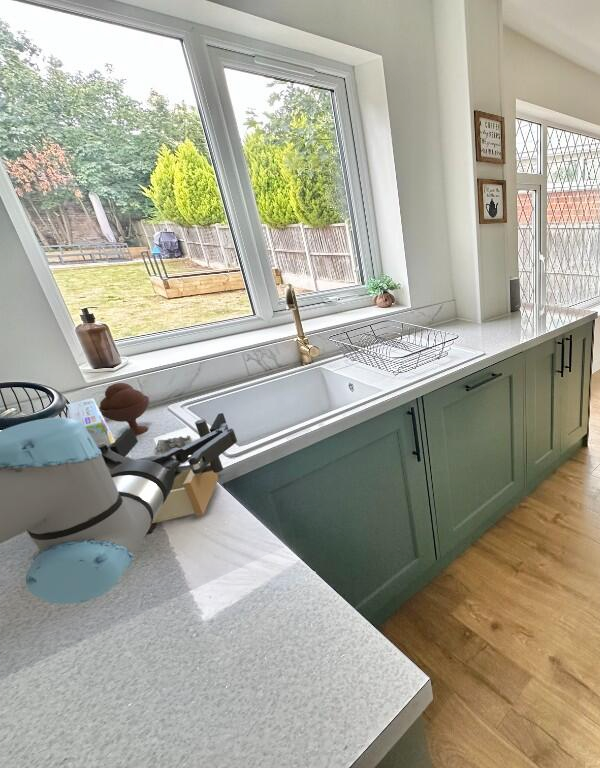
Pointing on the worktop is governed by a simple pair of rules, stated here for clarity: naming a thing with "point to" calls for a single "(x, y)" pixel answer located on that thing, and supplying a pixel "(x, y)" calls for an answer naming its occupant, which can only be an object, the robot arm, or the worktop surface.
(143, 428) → the ice cream bowl
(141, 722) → the worktop surface
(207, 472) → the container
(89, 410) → the snack box
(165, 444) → the grey rock
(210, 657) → the worktop surface
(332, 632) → the worktop surface
